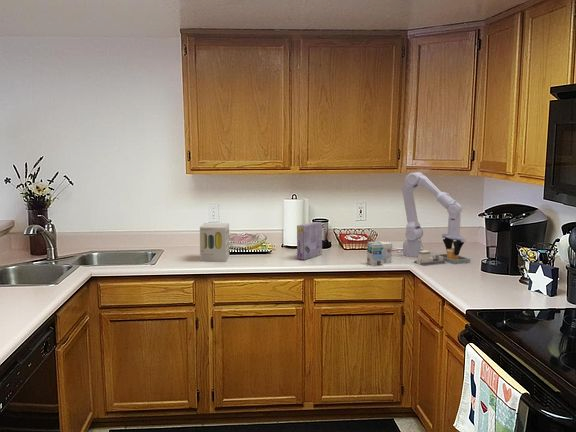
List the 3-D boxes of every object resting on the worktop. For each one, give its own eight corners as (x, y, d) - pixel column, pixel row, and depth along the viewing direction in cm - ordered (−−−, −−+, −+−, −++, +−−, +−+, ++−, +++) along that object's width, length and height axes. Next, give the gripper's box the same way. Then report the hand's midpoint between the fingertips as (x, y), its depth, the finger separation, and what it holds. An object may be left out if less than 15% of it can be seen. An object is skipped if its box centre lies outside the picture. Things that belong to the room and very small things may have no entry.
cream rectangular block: (417, 263, 272) (418, 251, 271) (425, 262, 274) (426, 250, 273) (421, 264, 269) (422, 252, 268) (429, 263, 271) (430, 251, 270)
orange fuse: (446, 260, 279) (447, 248, 278) (453, 259, 281) (454, 248, 280) (450, 261, 276) (451, 250, 275) (457, 261, 278) (458, 249, 277)
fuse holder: (412, 264, 274) (412, 257, 274) (435, 261, 280) (435, 254, 279) (423, 268, 266) (424, 260, 266) (447, 265, 272) (447, 258, 271)
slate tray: (435, 260, 283) (435, 254, 283) (450, 258, 287) (451, 253, 287) (453, 266, 270) (454, 260, 270) (470, 264, 274) (470, 258, 274)
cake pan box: (315, 253, 299) (316, 220, 296) (323, 254, 296) (324, 221, 294) (295, 259, 283) (296, 225, 281) (304, 260, 280) (304, 226, 278)
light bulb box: (371, 266, 269) (372, 244, 268) (366, 263, 276) (366, 241, 274) (392, 265, 272) (392, 243, 271) (386, 262, 279) (386, 240, 277)
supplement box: (199, 261, 277) (199, 226, 275) (204, 256, 290) (203, 222, 288) (226, 262, 277) (225, 227, 274) (229, 256, 290) (229, 223, 287)
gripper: (437, 225, 281) (436, 252, 283) (458, 229, 268) (457, 257, 270) (448, 224, 284) (447, 250, 286) (469, 228, 271) (468, 256, 273)
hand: (452, 254), depth 278 cm, fingers open, 5 cm apart
